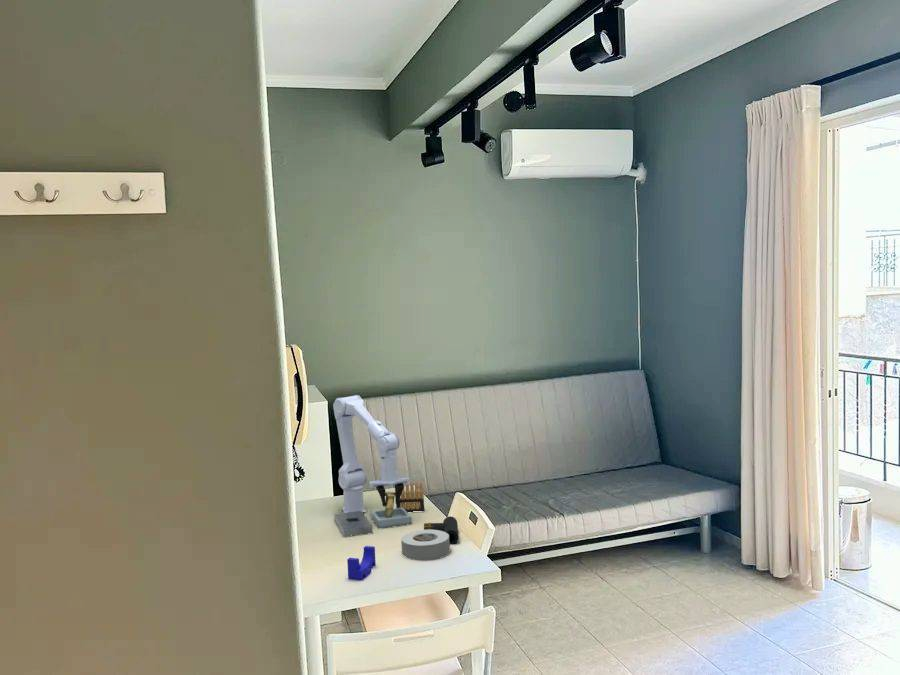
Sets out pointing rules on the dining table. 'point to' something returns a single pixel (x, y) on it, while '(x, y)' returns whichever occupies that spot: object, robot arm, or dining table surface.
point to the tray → (398, 518)
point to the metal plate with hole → (353, 523)
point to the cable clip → (361, 564)
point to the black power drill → (446, 528)
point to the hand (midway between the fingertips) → (390, 505)
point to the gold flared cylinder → (389, 504)
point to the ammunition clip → (412, 498)
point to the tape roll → (425, 544)
